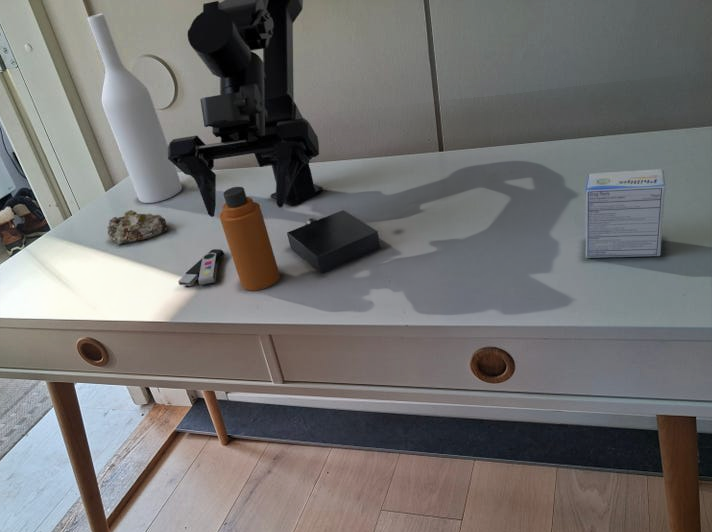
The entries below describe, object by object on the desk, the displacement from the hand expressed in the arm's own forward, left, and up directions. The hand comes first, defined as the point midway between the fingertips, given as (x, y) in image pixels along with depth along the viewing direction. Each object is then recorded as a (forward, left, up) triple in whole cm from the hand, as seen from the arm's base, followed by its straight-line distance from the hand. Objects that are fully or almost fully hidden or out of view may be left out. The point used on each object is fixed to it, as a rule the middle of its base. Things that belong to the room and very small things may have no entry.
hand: (245, 211), depth 89 cm
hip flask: (+3, +10, -9) cm, 14 cm away
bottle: (-44, +5, -9) cm, 45 cm away
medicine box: (+34, +29, -9) cm, 46 cm away
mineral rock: (-31, -5, -9) cm, 33 cm away
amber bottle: (+1, -1, -9) cm, 9 cm away
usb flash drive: (-7, -4, -9) cm, 12 cm away
